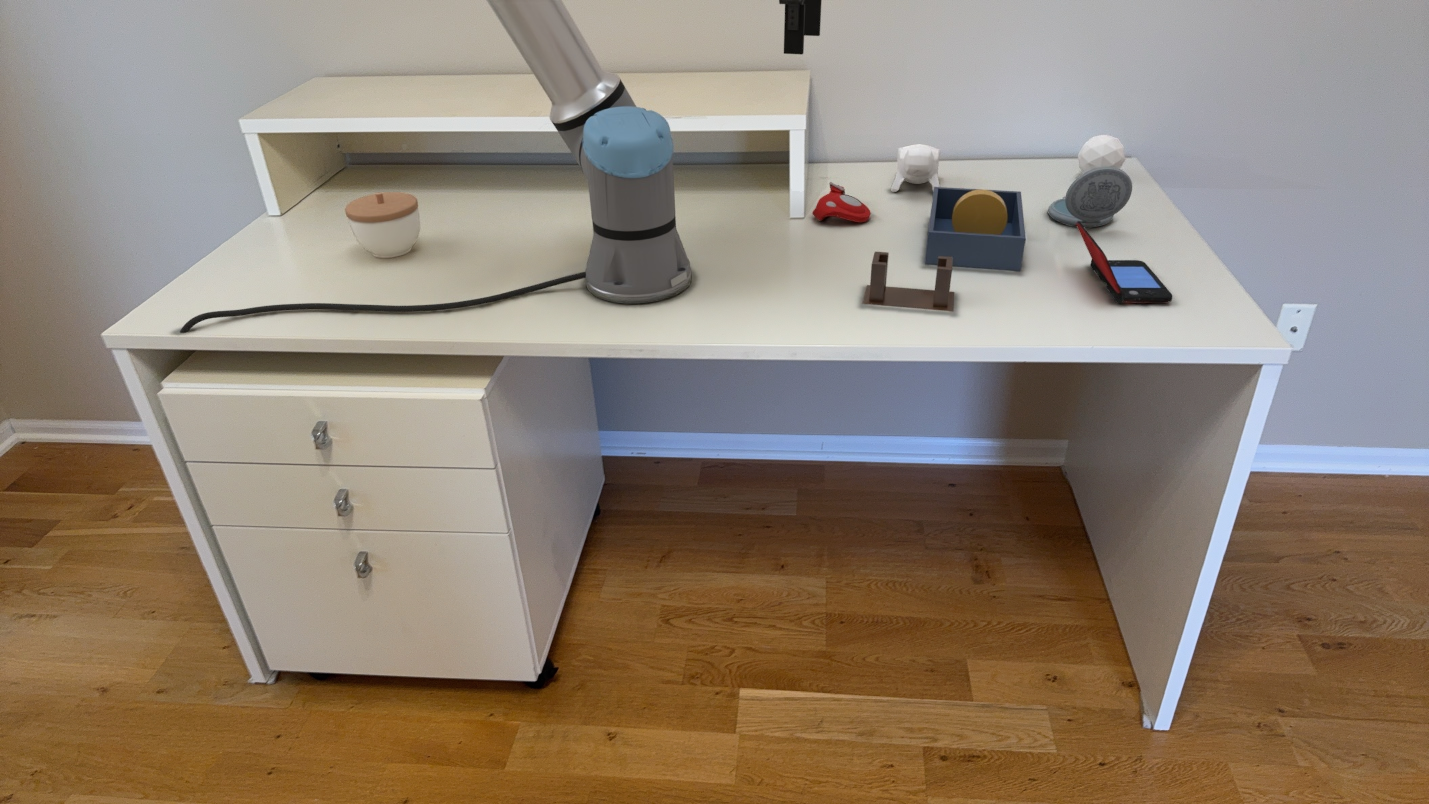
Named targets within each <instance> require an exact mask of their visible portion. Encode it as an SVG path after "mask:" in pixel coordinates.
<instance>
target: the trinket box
mask: <svg viewBox="0 0 1429 804" xmlns="http://www.w3.org/2000/svg"><path fill="white" fill-rule="evenodd" d="M344 212H345V215H346V217H347V221H348V224H349V227H350V230H351V233H352V235H353V236H354V238H355V241H356V242H357V243H358V244H359V245H360V246H361V247H362V249H364V250H366V251H367V252H369V253H370V254H371V255H372V256H374V257H375V258H378V259H379V258H380V259H392V258H397V257H401V256H404V255H407V254H409V253H410V252H411V251H412V249H413V246H414V245H415V244H416V242H417V240H418V239H419V236H420V233H421V216H420V210H419V202H418V199H417V197H416V196H415V195H413V194H411V193H409V192H407V193H406V192H400V191H386V192H385V191H384V192H383V191H382V192H381V191H380V192H379V191H378V192H375V193H372V194H368V195H363V196H361V197H358V198H356V199H354V200H352V201H350V202H349V203H347V204H346V206H345V208H344Z"/></svg>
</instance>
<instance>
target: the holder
mask: <svg viewBox="0 0 1429 804" xmlns="http://www.w3.org/2000/svg"><path fill="white" fill-rule="evenodd" d="M889 254H890V253H889V252H888V251H887V252H886V251H874V252H873V257H872V260H871V267H870V268H871V269H870V280H869V284H866V287H865V291H864V295H863V299H862V303H861V304H862V305H871V306H883V307H892V308H893V307H896V308H907V309H917V310H918V309H919V310H928V311H929V310H931V311H940V312H941V311H942V312H943V311H944V312H954V308H955V291H950V290H951V284H952V283H951V282H952V273H953V266H952V265H953V257H945V256H938V265H936V273H935V274H936V275H935V283H934V289H922V288H909V287H897V286H887V278H888V267H889V266H888V265H889Z"/></svg>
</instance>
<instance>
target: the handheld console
mask: <svg viewBox="0 0 1429 804" xmlns="http://www.w3.org/2000/svg"><path fill="white" fill-rule="evenodd" d="M1077 229H1078V231H1079V234H1080V236H1081V238H1082V240H1083V242H1084V246H1085V247H1086V250H1087V252H1088V253H1089V256H1090V258H1091V262H1090V268H1091V269H1092V271H1093V272H1094V273H1095V275H1097V277H1098V278H1099V280H1101V282H1102V283H1104V284H1105V285H1106V289H1107V291H1108V292H1109V293H1110V295H1111V296H1112V298H1113V300H1114V301H1115V302H1116V303H1118V304H1123V303H1125V304H1127V303H1128V304H1129V303H1132V304H1133V303H1135V304H1143V303H1144V304H1160V303H1162V304H1166V303H1170V302H1171V301H1172V300H1173V296H1174V295H1173V294H1172V292H1171V291H1170V290H1169V289H1168V287H1166V285H1165V284H1164V283H1163V282H1162V280H1160V278H1159V277H1158V276H1157V275H1156V274H1155V272H1154V271H1153V270H1152V269H1151V268H1150V266H1148V264H1147V263H1146V262H1145V261H1143V260H1139V259H1108V257H1107V255H1106V254H1105V252H1104V251H1103V249H1102V248H1101V247H1100V246H1099V244H1098V243H1097V241H1096V240H1095V239H1094V238H1093V236H1092V235H1091V234H1090V232H1089V231H1088V230H1087V229H1086V227H1083V225H1082V224H1081V223H1080V222H1079V221H1078V222H1077Z"/></svg>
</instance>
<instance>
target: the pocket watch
mask: <svg viewBox="0 0 1429 804" xmlns="http://www.w3.org/2000/svg"><path fill="white" fill-rule="evenodd" d="M1132 192H1133V182H1132V179H1131V177H1130V175H1129V174H1128V173H1127V172H1126V171H1124V170H1123V169H1121V168H1120V169H1118V168H1115V167H1099V168H1095V169H1092V170H1090V171H1087V172H1085V173H1084V174H1083V173H1082V174H1081V175H1079V176H1078V177H1077V178H1075V180H1074V181H1073V182H1072V183H1071V184H1070V185H1069V187H1068V189H1067V191H1066V194H1065V196H1063V197H1062V198H1060V199H1059V198H1058V199H1056V200H1054V201H1053V202H1052V203H1051V204H1050V205H1049V206H1048V208H1047V212H1048V215H1049V216H1050V217H1051V219H1053V220H1055V221H1056V222H1058V223H1061V224H1063V225H1067V226H1071V227H1077V222H1078V221H1079V222H1080V223H1081V224H1082V225H1083V227H1084V228H1096V227H1097V228H1098V227H1100V226H1104V225H1106V224H1109V223H1110V222H1111V221H1112V220H1113V219H1114V217H1115V215H1116V214H1117V213H1120V211H1122V209H1124V208H1125V206H1126V205H1127V204H1128V203H1129V200H1130V198H1131V196H1132V194H1133V193H1132ZM1077 228H1078V227H1077Z"/></svg>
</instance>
